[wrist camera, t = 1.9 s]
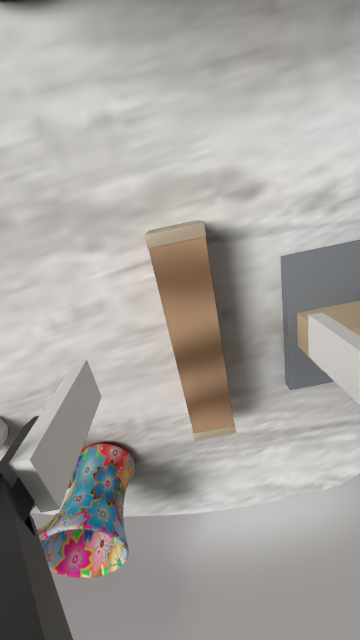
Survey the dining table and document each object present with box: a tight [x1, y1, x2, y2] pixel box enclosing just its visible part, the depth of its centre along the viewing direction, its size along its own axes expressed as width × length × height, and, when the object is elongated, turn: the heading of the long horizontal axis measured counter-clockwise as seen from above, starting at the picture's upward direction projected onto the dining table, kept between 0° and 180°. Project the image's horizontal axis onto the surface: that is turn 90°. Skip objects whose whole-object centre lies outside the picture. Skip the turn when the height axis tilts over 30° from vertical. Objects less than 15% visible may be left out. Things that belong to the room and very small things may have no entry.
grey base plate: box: [281, 240, 360, 390], centre depth 25 cm, size 16×10×6 cm, turn 11°
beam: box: [145, 220, 236, 441], centre depth 26 cm, size 22×5×5 cm, turn 11°
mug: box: [31, 444, 135, 578], centre depth 31 cm, size 12×9×11 cm
